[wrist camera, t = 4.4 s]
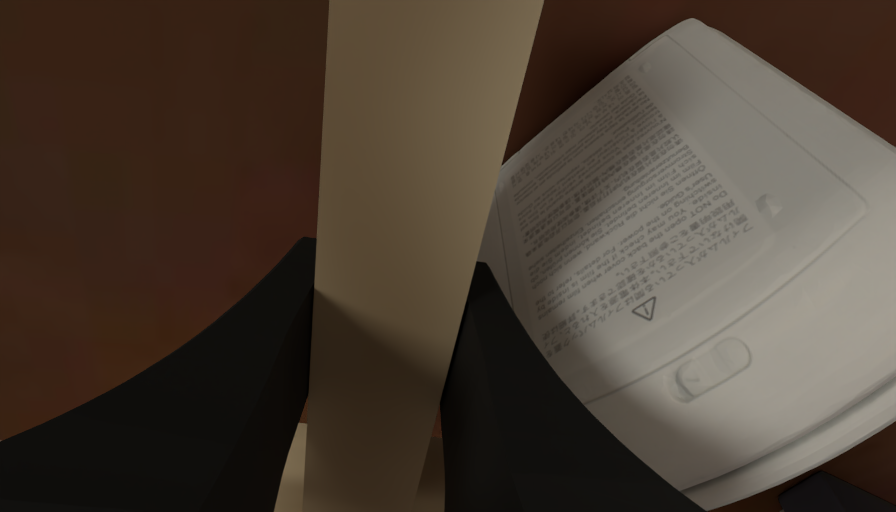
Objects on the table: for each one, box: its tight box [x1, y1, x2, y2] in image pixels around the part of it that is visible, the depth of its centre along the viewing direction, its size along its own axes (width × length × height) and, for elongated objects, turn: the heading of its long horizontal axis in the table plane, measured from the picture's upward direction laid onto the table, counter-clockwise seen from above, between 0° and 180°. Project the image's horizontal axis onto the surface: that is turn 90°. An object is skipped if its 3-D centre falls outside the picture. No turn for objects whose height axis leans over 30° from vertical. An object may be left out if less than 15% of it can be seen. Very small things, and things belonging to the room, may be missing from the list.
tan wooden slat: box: [274, 0, 544, 512], centre depth 12 cm, size 6×16×4 cm, turn 170°
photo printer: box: [477, 18, 896, 511], centre depth 14 cm, size 10×4×12 cm, turn 135°
